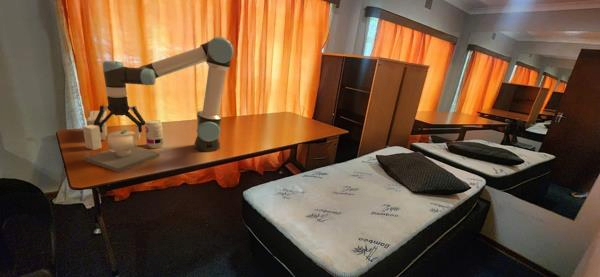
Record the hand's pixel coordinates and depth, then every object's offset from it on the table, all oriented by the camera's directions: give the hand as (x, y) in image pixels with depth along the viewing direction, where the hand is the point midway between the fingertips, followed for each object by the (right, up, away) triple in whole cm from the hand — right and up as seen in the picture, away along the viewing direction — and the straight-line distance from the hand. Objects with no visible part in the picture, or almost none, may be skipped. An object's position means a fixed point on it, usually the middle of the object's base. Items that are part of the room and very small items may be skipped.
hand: (122, 138), depth 118 cm
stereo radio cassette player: (-33, +1, +26) cm, 42 cm away
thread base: (-2, -10, +3) cm, 11 cm away
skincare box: (-23, -5, +10) cm, 26 cm away
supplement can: (+3, -5, +22) cm, 23 cm away
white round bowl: (-1, -4, +1) cm, 4 cm away
